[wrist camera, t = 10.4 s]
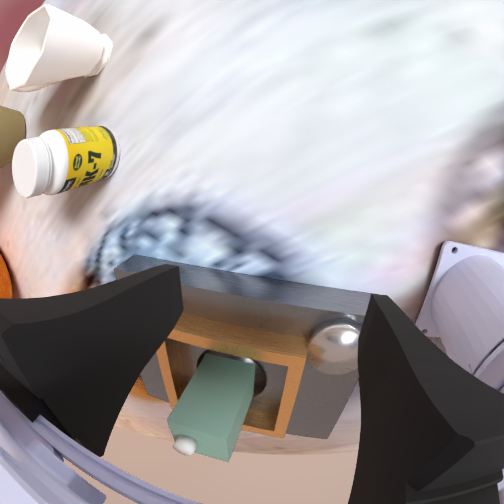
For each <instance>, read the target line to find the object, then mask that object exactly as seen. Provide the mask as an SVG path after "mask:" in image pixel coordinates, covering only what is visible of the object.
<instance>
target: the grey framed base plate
mask: <svg viewBox="0 0 504 504" xmlns="http://www.w3.org/2000/svg"><path fill="white" fill-rule="evenodd" d="M163 264H169V265H175V266H179V270H180V280H181V290H182V299H183V308H184V310H183V312H182V314H181V316H180V318H179V320H178V322H177V323H176V325H175V327H174V329H173V330H172V332H171V333H170V334H169V336H168V337H167V338H166V340H165V341H164V342H163V344H162V345H161V346H160V348H159V349H158V350H157V352H156V353H155V354H154V356H153V357H152V358H151V359H150V361H149V362H148V363H147V365H146V366H145V367H144V369H143V370H142V372H141V373H140V374H141V377H142V380H143V383H144V386H145V389H146V392H147V394H148V395H151V396H153V397H156V398H158V399H161V400H164V401H166V402H169V403H170V406H171V408H172V409H174V407H175V405H176V404H177V402H178V400H179V399H180V397H181V395H182V394H183V392H184V390H185V388H186V387H187V385H188V383H189V382H190V380H191V378H192V376H193V375H194V373H195V371H196V370H197V368H198V366H199V364H200V363H201V361H202V359H203V357H204V356H205V354H206V353H208V354H212V355H216V356H220V357H224V358H229V359H233V360H238V361H242V362H247V363H252V364H255V377H254V391H253V397H252V400H251V402H250V405H249V408H248V411H247V414H246V417H245V419H244V422H243V425H242V428H241V430H246V431H250V432H254V433H259V434H264V435H269V436H274V437H280V438H284V436H285V433H286V434H292V435H298V436H305V437H313V438H322V439H327V438H328V437H329V435H330V433H331V431H332V430H333V428H334V426H335V424H336V422H337V420H338V418H339V417H340V415H341V413H342V411H343V409H344V407H345V405H346V403H347V401H348V399H349V397H350V395H351V393H352V391H353V389H354V386H355V384H356V382H357V380H358V378H359V375H358V363H357V359H358V337H359V334H360V331H361V328H362V325H363V321H364V318H365V314H366V311H367V307H368V304H369V300H370V296H371V294H372V293H365V292H357V291H350V290H343V289H336V288H330V287H323V286H316V285H309V284H303V283H296V282H290V281H284V280H277V279H271V278H265V277H259V276H253V275H247V274H241V273H235V272H229V271H223V270H217V269H211V268H206V267H200V266H194V265H189V264H183V263H178V262H172V261H167V260H161V259H156V258H151V257H145V256H140V255H133V256H132V257H130V258H129V259H128V260H126V261H125V262H123V263H122V264H120V265H119V266H117V267H116V268H115V269H114V271H115V277H116V280H118V279H121V278H124V277H127V276H129V275H132V274H135V273H138V272H141V271H143V270H146V269H149V268H152V267H155V266H159V265H163Z"/></svg>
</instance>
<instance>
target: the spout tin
mask: <svg viewBox="0 0 504 504" xmlns="http://www.w3.org/2000/svg"><path fill="white" fill-rule="evenodd" d="M254 377H255V364H252V363H247V362H242V361H238V360H233V359H229V358H224V357H220V356H216V355H212V354H208V353H206V354H205V356H204V357H203V359H202V361H201V363H200V364H199V366H198V368H197V370H196V371H195V373H194V375H193V376H192V378H191V380H190V382H189V383H188V385H187V387H186V388H185V390H184V392H183V394H182V395H181V397H180V399H179V400H178V402H177V404H176V405H175V407H174V409H173V411H172V412H171V414H170V416H169V417H168V419H167V422H168V425H169V427H170V430H171V432H172V435H173V437H174V440H175V443H174V445H173V448H174V449H175V450H176V451H178V452H179V453H181V454H184V455H187V456H192V455H193V453H194V452H196V453H199V454H202V455H205V456H209V457H212V458H216V459H219V460H222V461H227V462H229V460H230V457H231V454H232V452H233V449H234V447H235V444H236V441H237V439H238V436H239V433H240V431H241V428H242V425H243V422H244V419H245V417H246V414H247V411H248V408H249V405H250V402H251V400H252V397H253V391H254Z"/></svg>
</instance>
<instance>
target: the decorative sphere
mask: <svg viewBox="0 0 504 504" xmlns="http://www.w3.org/2000/svg"><path fill="white" fill-rule="evenodd" d="M0 298H11V299H12V286H11V280H10V275H9V272H8V269H7V266H6V264H5V262H4V260H3V258H2V256H1V254H0Z"/></svg>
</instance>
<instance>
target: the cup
mask: <svg viewBox="0 0 504 504" xmlns="http://www.w3.org/2000/svg"><path fill="white" fill-rule="evenodd" d="M112 46H113V43H112V41H111V40H110V39H109V37H108V36H107V35H106V34H102V35H101V34H100V33H99V32H98V31H97V30H96V29H95V28H93V27H92V26H90V25H89V24H88V23H86V22H85V21H83V20H81V19H79V18H77V17H75V16H73V15H70V14H68V13H66V12H64V11H62V10H60V9H58V8H56V7H53V6H51V5H48V4H44V5H43V6H41V7H40V8H38V9H37V10H35V11H34V12H33V13H31V14H30V15H28V17H27V18H26V20H25V21H24V23H23V24H22V26H21V28H20V29H19V31H18V33H17V35H16V36H15V38H14V40H13V42H12V44H11V48H10V52H9V56H8V61H7V65H6V70H5V74H6V77H7V81H8V88H9V89H10V91H11V90H12V91H18V92H31V91H36V90H39V89H42V88H45V87H48V86H50V85H52V84H55V83H57V82H59V81H62V80H66V79H71V78H75V77H79V76H83V77H89V76H94V75H98V74H99V73H100V71H101V70H102V69H103V68H104V67H105V65H106V64H107V63H108V62H109V60H110V55H111V51H112Z"/></svg>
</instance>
